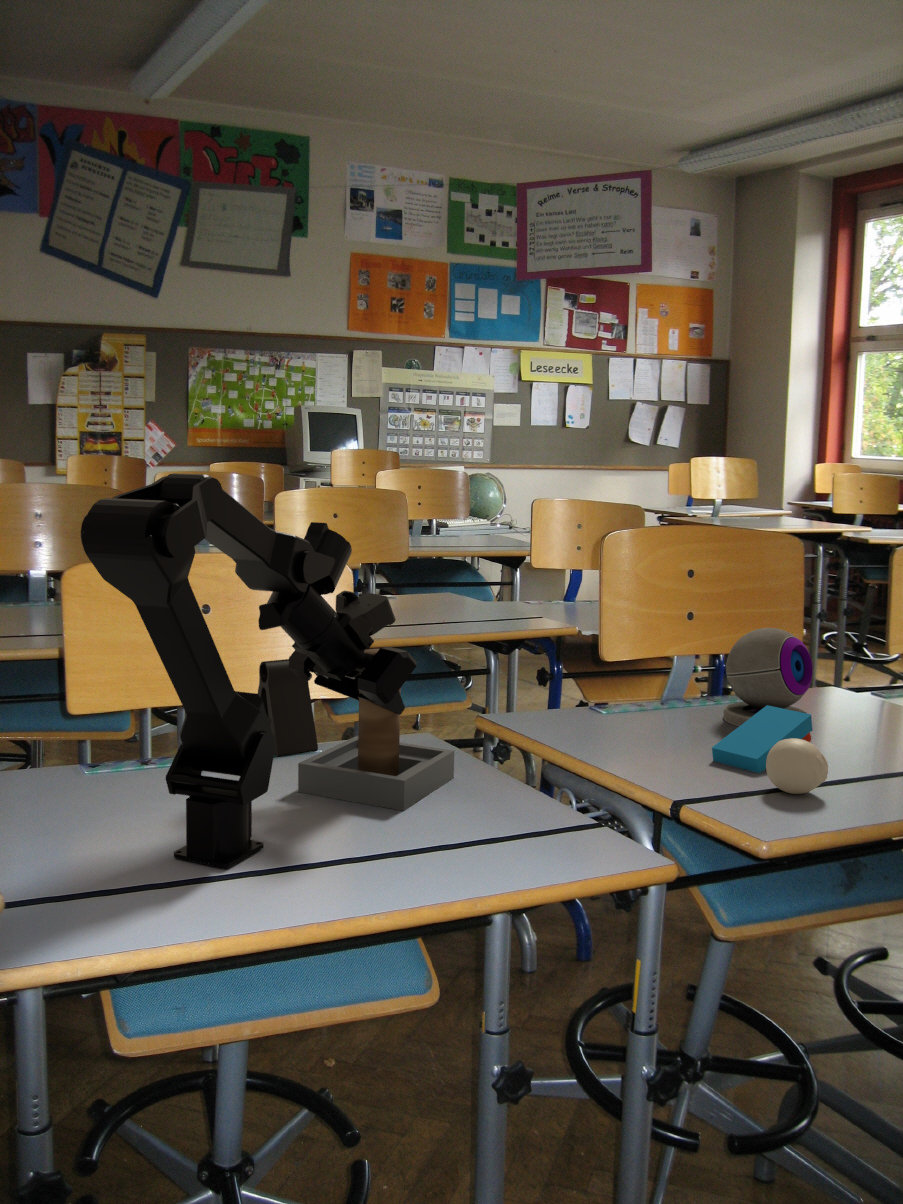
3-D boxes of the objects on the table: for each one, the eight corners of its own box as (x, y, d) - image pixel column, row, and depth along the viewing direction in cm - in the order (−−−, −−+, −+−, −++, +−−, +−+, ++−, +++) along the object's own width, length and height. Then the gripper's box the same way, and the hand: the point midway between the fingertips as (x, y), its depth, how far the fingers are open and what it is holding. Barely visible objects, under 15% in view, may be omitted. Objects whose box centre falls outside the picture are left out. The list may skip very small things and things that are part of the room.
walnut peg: (387, 782, 121) (389, 657, 119) (350, 776, 123) (352, 653, 121) (405, 771, 125) (408, 651, 123) (369, 765, 127) (372, 647, 125)
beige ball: (819, 805, 121) (823, 751, 120) (757, 793, 125) (761, 740, 124) (832, 791, 127) (836, 739, 126) (773, 780, 130) (776, 729, 130)
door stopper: (318, 750, 138) (319, 664, 137) (277, 757, 135) (278, 668, 133) (288, 735, 145) (289, 652, 144) (249, 741, 142) (249, 656, 140)
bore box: (403, 810, 115) (404, 780, 115) (298, 791, 121) (298, 763, 120) (453, 777, 128) (454, 750, 127) (356, 762, 133) (356, 736, 133)
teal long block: (761, 805, 135) (827, 747, 146) (756, 759, 133) (824, 703, 144) (716, 792, 140) (783, 737, 151) (711, 747, 138) (780, 695, 149)
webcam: (780, 736, 152) (787, 637, 150) (706, 719, 162) (712, 626, 160) (822, 723, 161) (829, 629, 159) (750, 707, 171) (756, 619, 169)
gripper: (405, 580, 111) (476, 668, 120) (310, 565, 125) (380, 645, 134) (345, 658, 107) (423, 744, 116) (253, 633, 121) (329, 712, 130)
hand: (388, 707), depth 124 cm, fingers closed on walnut peg, 5 cm apart
